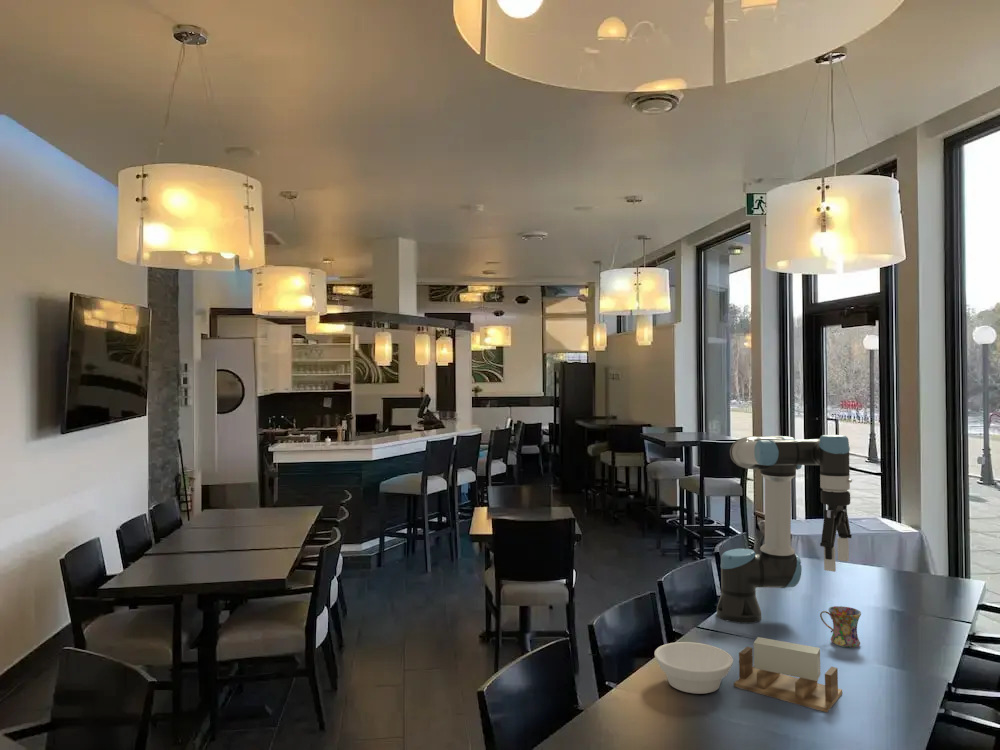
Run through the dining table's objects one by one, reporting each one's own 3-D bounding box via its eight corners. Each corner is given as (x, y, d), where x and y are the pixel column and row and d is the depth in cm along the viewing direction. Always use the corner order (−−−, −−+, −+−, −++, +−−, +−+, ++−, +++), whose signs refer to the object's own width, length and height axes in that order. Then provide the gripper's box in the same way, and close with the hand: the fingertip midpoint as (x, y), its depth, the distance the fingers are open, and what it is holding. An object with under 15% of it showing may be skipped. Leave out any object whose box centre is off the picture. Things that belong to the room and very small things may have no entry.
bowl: (722, 709, 176) (722, 677, 176) (643, 691, 187) (643, 661, 187) (741, 679, 193) (741, 650, 194) (668, 664, 205) (668, 636, 205)
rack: (733, 686, 189) (733, 657, 189) (752, 670, 199) (752, 642, 199) (827, 712, 173) (826, 680, 173) (842, 693, 184) (841, 663, 184)
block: (754, 668, 189) (753, 642, 189) (758, 662, 193) (757, 637, 193) (817, 681, 180) (817, 654, 180) (820, 674, 184) (819, 648, 184)
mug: (864, 643, 219) (864, 609, 219) (858, 652, 212) (857, 617, 212) (824, 635, 226) (823, 602, 227) (816, 643, 219) (816, 610, 219)
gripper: (837, 496, 182) (839, 577, 181) (860, 485, 200) (862, 558, 200) (807, 494, 186) (809, 572, 186) (833, 483, 205) (834, 554, 205)
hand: (836, 565), depth 193 cm, fingers open, 13 cm apart
